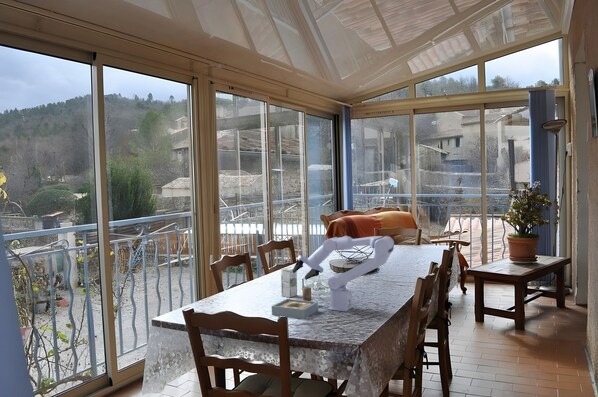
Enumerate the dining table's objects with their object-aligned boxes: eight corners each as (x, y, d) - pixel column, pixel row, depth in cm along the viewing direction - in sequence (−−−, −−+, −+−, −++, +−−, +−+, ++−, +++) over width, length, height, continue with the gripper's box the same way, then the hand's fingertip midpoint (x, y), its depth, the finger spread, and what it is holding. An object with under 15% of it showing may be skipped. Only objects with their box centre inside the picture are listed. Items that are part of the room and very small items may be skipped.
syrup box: (288, 294, 258) (288, 266, 257) (297, 295, 254) (296, 267, 253) (281, 296, 253) (280, 268, 252) (290, 298, 249) (289, 269, 249)
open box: (318, 310, 225) (317, 301, 225) (304, 319, 213) (304, 309, 213) (287, 307, 232) (286, 298, 232) (271, 314, 220) (271, 305, 220)
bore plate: (311, 309, 225) (311, 303, 225) (300, 316, 215) (300, 309, 215) (290, 307, 230) (290, 301, 230) (278, 313, 220) (278, 307, 220)
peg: (312, 304, 236) (312, 287, 236) (309, 306, 233) (308, 289, 232) (305, 303, 238) (304, 287, 238) (301, 305, 235) (301, 288, 234)
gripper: (328, 258, 238) (309, 275, 243) (305, 244, 232) (286, 262, 237) (330, 268, 232) (311, 285, 237) (307, 254, 226) (288, 272, 231)
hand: (299, 274), depth 237 cm, fingers open, 7 cm apart
